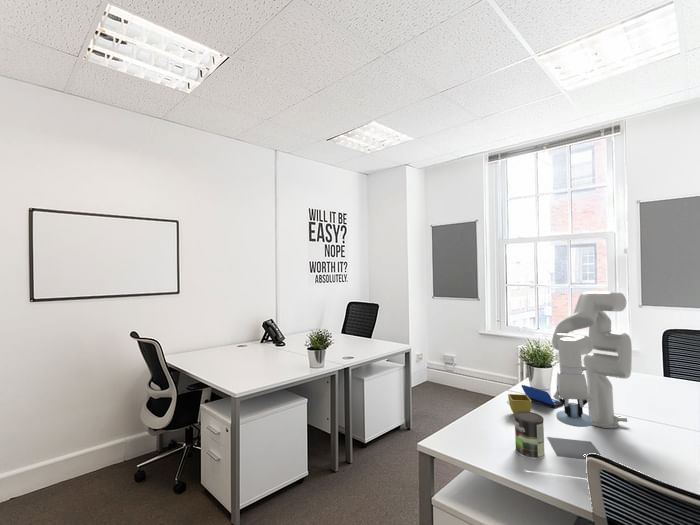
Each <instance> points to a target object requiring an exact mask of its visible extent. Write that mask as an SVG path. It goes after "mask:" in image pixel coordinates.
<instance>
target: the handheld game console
mask: <svg viewBox="0 0 700 525" xmlns="http://www.w3.org/2000/svg"><path fill="white" fill-rule="evenodd" d="M521 388H522V390H523V392H524V395H527V396H528V397H529V399H530V400H531V402H534V403H536V404H540V405H542V406H546V407H548V408H552V409H556V408H558V407H559V408H560V407H562V406H564V404H563V403H561V402H560V401H559V400H557V399H555V398H552V397H551V395H550V393H549V392H548V391H546V390H542V389H538V388H536V387H533V386H532V387H531V386H528V385H525V384H522V385H521Z"/></svg>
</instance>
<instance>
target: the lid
mask: <svg viewBox="0 0 700 525" xmlns="http://www.w3.org/2000/svg"><path fill="white" fill-rule="evenodd" d="M568 405H569V407H570V417H568V415H567V414H565V409H564V410H560V411H559V410H558V411H557V412H556V419H557V420H558V421H559V422H560V423H562V424H563V425H564V424H565V425H567V426H571V427H578V428H585V427H586V428H587V427H590V426H593V425H592V418H591V417H590V416H588V415H589V414H586V413H584V412H583V415H582V418H580V417H579V414H578V403H576V402H568Z"/></svg>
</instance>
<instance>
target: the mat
mask: <svg viewBox="0 0 700 525" xmlns="http://www.w3.org/2000/svg"><path fill="white" fill-rule="evenodd" d="M546 438H547V441H548V442H549V444H550V446H551V448H552V449H553V451H554V453H555V455H556V457H561V458H568V459H569V458H570V459H577V460H579V459H580V460H586V455H587V454H589V453H596V454H599V455H602V454H601V453H600V451H599V449H598V448H596V445H594V443H593V442H592V441H590V440H589V441H588V440H581V439H572V438H563V437H562V438H560V437H551V436H547V437H546ZM584 454H586V455H584ZM583 455H584V456H585V457H584V456H583Z"/></svg>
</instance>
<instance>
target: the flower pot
mask: <svg viewBox="0 0 700 525" xmlns="http://www.w3.org/2000/svg"><path fill="white" fill-rule="evenodd" d="M507 397H508V402H509V404H508V405H509V407H510V409H511V412H512V414H513V415H514V413H516V412H519V411H528V412H532V410H531V409H532V401H531V400H530V399H529V397H528V396H527V395H526V394H513V393H508V394H507Z"/></svg>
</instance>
